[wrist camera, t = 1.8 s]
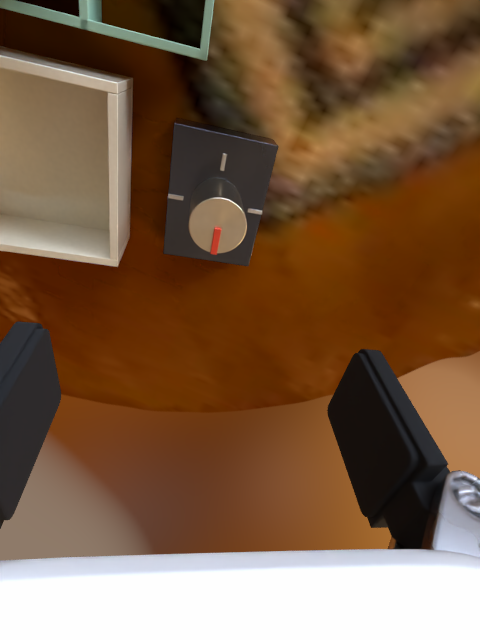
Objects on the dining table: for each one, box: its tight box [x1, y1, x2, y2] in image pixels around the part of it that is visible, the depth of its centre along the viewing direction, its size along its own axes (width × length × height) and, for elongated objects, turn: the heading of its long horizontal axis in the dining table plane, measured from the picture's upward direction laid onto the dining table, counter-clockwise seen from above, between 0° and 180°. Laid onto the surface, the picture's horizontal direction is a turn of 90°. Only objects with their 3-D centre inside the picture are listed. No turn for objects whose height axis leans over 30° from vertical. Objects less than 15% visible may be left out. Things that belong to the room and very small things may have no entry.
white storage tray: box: [0, 46, 133, 267], centre depth 29 cm, size 14×14×7 cm
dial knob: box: [189, 178, 247, 255], centre depth 31 cm, size 5×5×6 cm
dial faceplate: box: [163, 118, 278, 266], centre depth 34 cm, size 12×9×3 cm
